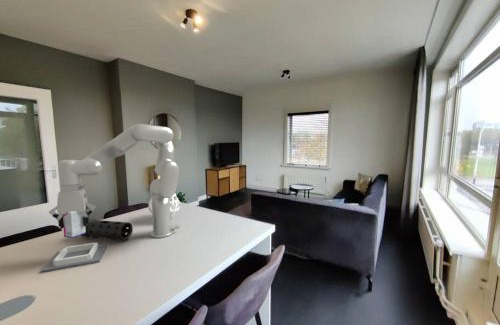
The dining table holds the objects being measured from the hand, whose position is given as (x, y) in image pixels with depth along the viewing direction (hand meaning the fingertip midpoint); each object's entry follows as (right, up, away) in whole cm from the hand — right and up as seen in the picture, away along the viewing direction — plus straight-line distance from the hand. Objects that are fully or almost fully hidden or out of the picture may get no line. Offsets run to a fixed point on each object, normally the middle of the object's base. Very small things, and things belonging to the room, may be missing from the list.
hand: (74, 226), depth 98 cm
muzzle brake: (0, -13, +21) cm, 25 cm away
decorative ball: (+21, -10, +52) cm, 56 cm away
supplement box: (0, -4, 0) cm, 4 cm away
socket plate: (0, -15, +2) cm, 15 cm away
